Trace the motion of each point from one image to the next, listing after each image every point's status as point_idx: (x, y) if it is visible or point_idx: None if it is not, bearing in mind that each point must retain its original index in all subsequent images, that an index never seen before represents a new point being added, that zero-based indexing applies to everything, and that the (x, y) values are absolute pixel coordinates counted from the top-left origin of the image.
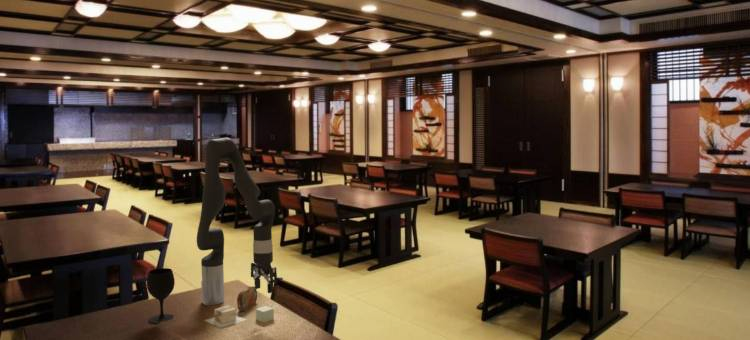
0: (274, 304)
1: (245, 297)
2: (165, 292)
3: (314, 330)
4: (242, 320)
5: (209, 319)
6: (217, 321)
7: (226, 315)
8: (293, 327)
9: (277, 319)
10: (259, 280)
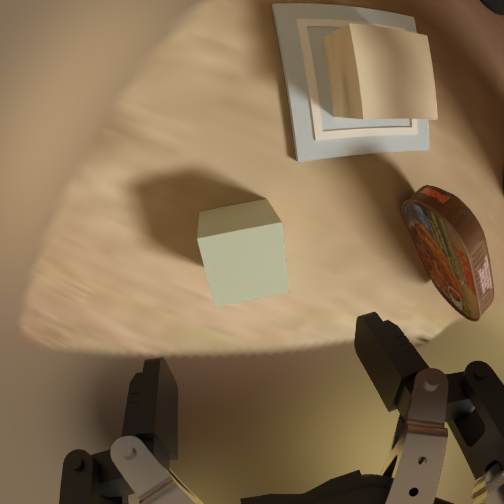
0: None
1: (451, 248)
2: None
3: (42, 336)
4: (301, 136)
5: None
6: None
7: (342, 51)
8: (89, 300)
9: None
10: (385, 397)
